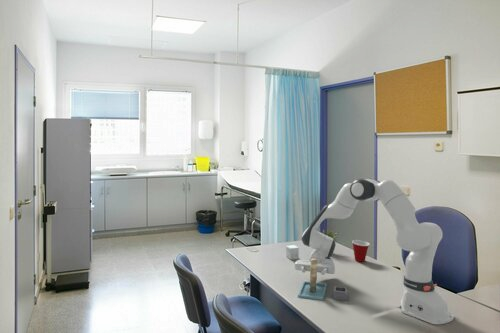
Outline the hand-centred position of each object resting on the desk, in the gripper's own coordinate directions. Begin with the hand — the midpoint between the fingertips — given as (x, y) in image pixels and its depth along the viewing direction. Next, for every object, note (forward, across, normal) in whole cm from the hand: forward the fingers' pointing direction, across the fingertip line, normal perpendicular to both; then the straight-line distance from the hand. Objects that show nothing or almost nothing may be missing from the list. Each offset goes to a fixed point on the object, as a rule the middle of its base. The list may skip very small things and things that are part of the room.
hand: (313, 272), depth 190 cm
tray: (-1, 0, +11) cm, 11 cm away
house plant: (-66, +2, +11) cm, 67 cm away
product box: (-51, -19, +11) cm, 56 cm away
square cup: (+3, +14, +11) cm, 18 cm away
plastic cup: (-58, +22, +11) cm, 63 cm away
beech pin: (-1, 0, +10) cm, 10 cm away
